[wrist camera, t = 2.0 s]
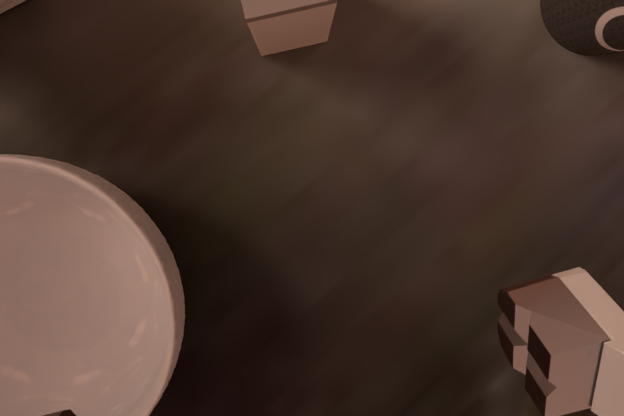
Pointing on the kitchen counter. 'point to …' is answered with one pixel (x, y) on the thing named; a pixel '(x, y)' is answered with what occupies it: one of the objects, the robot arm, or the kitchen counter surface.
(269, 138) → the kitchen counter surface
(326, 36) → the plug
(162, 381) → the cereal bowl
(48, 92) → the kitchen counter surface
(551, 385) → the robot arm
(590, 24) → the coffee cup
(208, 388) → the kitchen counter surface
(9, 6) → the skincare box
